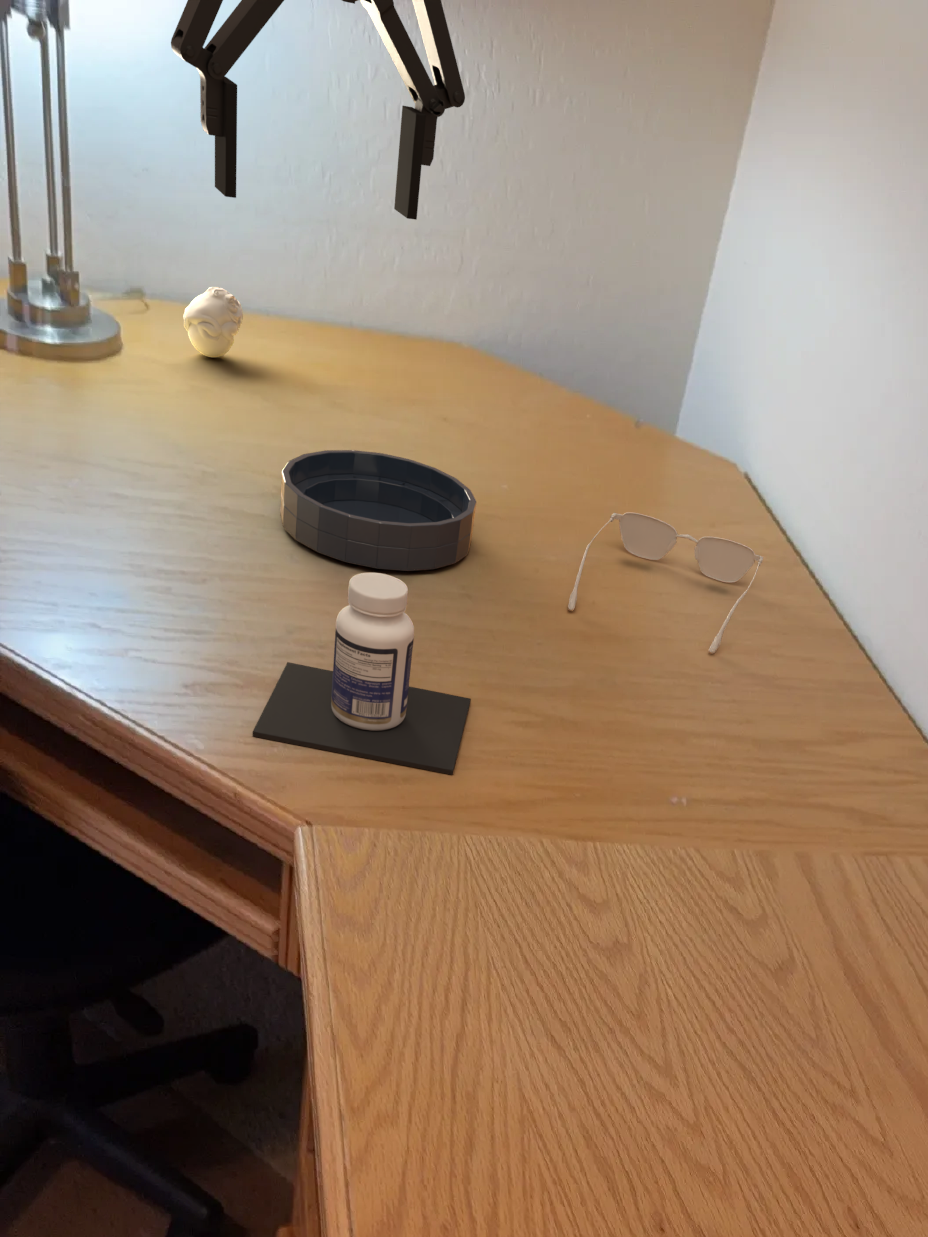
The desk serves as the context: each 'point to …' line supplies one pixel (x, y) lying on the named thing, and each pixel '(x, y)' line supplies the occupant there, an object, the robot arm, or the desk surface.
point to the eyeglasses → (660, 537)
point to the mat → (310, 722)
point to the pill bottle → (372, 654)
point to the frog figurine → (213, 321)
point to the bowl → (377, 510)
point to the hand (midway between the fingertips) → (318, 204)
